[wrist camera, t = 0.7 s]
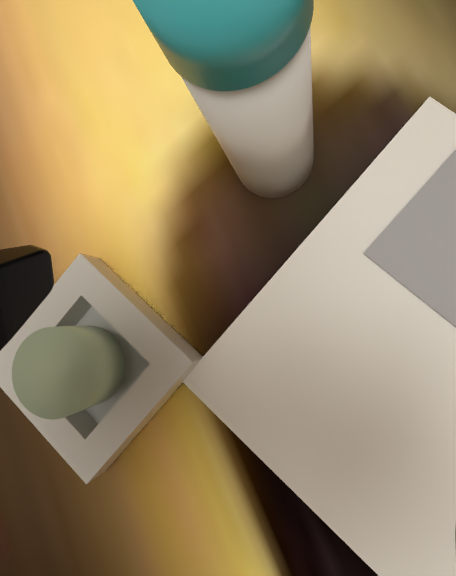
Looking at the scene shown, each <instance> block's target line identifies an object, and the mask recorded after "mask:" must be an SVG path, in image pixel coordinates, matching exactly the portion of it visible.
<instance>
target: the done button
mask: <svg viewBox="0 0 456 576" xmlns="http://www.w3.org/2000/svg"><path fill="white" fill-rule="evenodd" d="M124 372H125V358H124V353H123V351H122V348H121V346H120V344H119V342H118V341H117V339H116V338H115V337H114V336H113V335H112V334H111V333H110V332H108V331H107V330H105V329H103V328H100V327H97V326H59V327H45V328H42V329H39V330H37V331H35V332H33V333H32V334H30V335H29V336H28V337H27V338H26V339H25V340H24V341H23V342H22V343H21V345H20V346H19V348H18V350H17V352H16V354H15V357H14V360H13V365H12V382H13V387H14V390H15V393H16V395H17V397H18V399H19V401H20V402H21V403H22V405H23V406H24V407H25V408H26V409H27V410H28V411H29V412H31V413H32V414H34V415H36V416H38V417H40V418H44V419H51V420H54V419H61V418H64V417H67V416H69V415H72V414H74V413H77V412H80V411H82V410H85V409H87V408H90V407H92V406H95V405H97V404H100V403H102V402H104V401H106V400H108V399H109V398H110V397H112V396H113V395H114V394H115V393H116V391H117V390H118V388H119V387H120V385H121V383H122V380H123V377H124Z"/></svg>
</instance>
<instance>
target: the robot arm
mask: <svg viewBox="0 0 456 576" xmlns="http://www.w3.org/2000/svg"><path fill="white" fill-rule="evenodd" d="M53 285H54V278H53V269H52V261H51V255H50V253H49V252H48V251H47V250H45V249H42V248H39V247H37V246H33V245H26V246H20V247H14V248H8V249H2V250H0V351H1V350H2V349H3V347H4V346H5V345H6V344H7V343H8V342H9V341H10V340H11V339H12V338H13V337H14V335H15V334H16V333H17V332H18V331H19V330H20V328H21V327H22V326H23V325H24V324H25V322H26V321H27V320H28V319H29V317H30V316H31V315H32V314H33V313H34V311H35V310H36V309H37V308H38V307H39V305H40V304H41V303H42V302H43V301H44V299H45V298H46V297H47V296H48V295H49V293H50V292H51V290H52V288H53ZM455 542H456V528H455Z"/></svg>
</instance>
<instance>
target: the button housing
mask: <svg viewBox="0 0 456 576" xmlns="http://www.w3.org/2000/svg"><path fill="white" fill-rule="evenodd" d="M59 326H97V327H100V328H103V329H105V330H107V331H108V332H110V333H111V334H112V335H113V336H114V337H115V338H116V339H117V341H118V342H119V344H120V346H121V348H122V351H123V353H124V358H125V372H124V377H123V380H122V383H121V385H120V387H119V388H118V390H117V391H116V393H115V394H114V395H113V396H112V397H110V398H109V399H108V400H106V401H104V402H102V403H100V404H97V405H95V406H92V407H90V408H87V409H85V410H82V411H80V412H77V413H74V414H72V415H69V416H67V417H64V418H61V419H54V420H51V419H44V418H40V417H38V416H36V415H34V414H32V413H31V412H29V411H28V410H27V409H26V408H25V407H24V406H23V405H22V403H21V402H20V401H19V399H18V397H17V395H16V393H15V390H14V387H13V382H12V365H13V360H14V357H15V354H16V352H17V350H18V348H19V346H20V345H21V343H22V342H23V341H24V340H25V339H26V338H27V337H28V336H29V335H30V334H32V333H33V332H35V331H37V330H39V329H42V328H45V327H59ZM202 357H203V356H201V355H200V354H199V353H198V352H197V351H196V350H195V349H194V348H193V347H192V346H191V345H190V344H189V343H188V342H187V341H186V340H185V339H184V338H183V337H182V336H181V335H180V334H178V333H177V332H176V331H175V330H174V329H173V328H172V327H171V326H170V325H169V324H168V323H167V322H166V321H165V320H164V319H163V318H162V317H161V316H160V315H159V314H158V313H156V312H155V311H154V310H153V309H152V308H151V307H150V306H149V305H148V304H147V303H146V302H145V301H144V300H143V299H142V298H141V297H140V296H139V295H138V294H137V293H136V292H135V291H133V290H132V289H131V288H130V287H129V286H128V285H127V284H126V283H125V282H124V281H123V280H122V279H121V278H120V277H119V276H118V275H117V274H116V273H115V272H114V271H113V270H111V269H110V268H109V267H108V266H107V265H106V264H105V263H104V262H103V261H102V260H101V259H99V258H96V257H92V256H88V255H85V254H81V253H80V254H79V255H78V256H77V258H76V259H75V260H74V261H73V263H72V264H71V265H70V266H69V267H68V269H67V270H66V271H65V272H64V274H63V275H62V276H61V277H60V279H59V280H58V281H57V282H56V283H55V285H54V286H53V288H52V290H51V292H50V293H49V295H48V296H47V297H46V298H45V299H44V301H43V302H42V303H41V304H40V305H39V307H38V308H37V309H36V310H35V311H34V313H33V314H32V315H31V316H30V317H29V319H28V320H27V321H26V322H25V324H24V325H23V326H22V327H21V328H20V330H19V331H18V332H17V333H16V334H15V335H14V337H13V338H12V339H11V340H10V341H9V342H8V343H7V344H6V345H5V346H4V347H3V349H2V350H1V351H0V387H1V388H2V390H3V391H4V392H5V393H6V394H7V395H8V396H9V397H10V399H11V400H12V401H13V402H14V403H15V404H16V405H17V407H18V408H19V409H20V410H21V411H22V412H23V413H24V414H25V416H26V417H27V418H28V419H29V420H30V421H31V422H32V424H33V425H34V426H35V427H36V428H37V429H38V430H39V431H40V433H41V434H42V435H43V436H44V437H45V438H46V439H47V441H48V442H49V443H50V444H51V445H52V446H53V447H54V448H55V450H56V451H57V452H58V453H59V454H60V455H61V456H62V458H63V459H64V460H65V461H66V462H67V463H68V464H69V465H70V467H71V468H72V469H73V470H74V471H75V472H76V473H77V475H78V476H79V477H80V478H81V479H82V480H83V481H84V482H85V484H88V483H89V482H91V481H92V480H93V479H95V478H96V477H98V476H99V475H100V474H102V473H103V472H105V471H106V470H107V469H108V468H109V467H110V466H111V464H112V463H113V462H114V461H115V460H116V459H117V458H118V456H119V455H120V454H121V453H122V452H123V451H124V450H125V448H126V447H127V446H128V445H129V444H130V443H131V442H132V440H133V439H134V438H135V437H136V436H137V435H138V433H139V432H140V431H141V430H142V429H143V428H144V427H145V425H146V424H147V423H148V422H149V421H150V420H151V419H152V417H153V416H154V415H155V414H156V413H157V412H158V411H159V409H160V408H161V407H162V406H163V405H164V404H165V403H166V401H167V400H168V399H169V398H170V397H171V396H172V394H173V393H174V392H175V391H176V390H177V389H178V388H179V386H180V385H181V384H182V383H183V382H182V380H183V379H184V378H185V377H186V376H187V375H188V374H189V372H190V371H191V370H192V369H193V368H194V367H195V366H196V364H197V363H198V362H199V361H200V360H201V359H202Z"/></svg>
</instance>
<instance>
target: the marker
mask: <svg viewBox="0 0 456 576" xmlns="http://www.w3.org/2000/svg"><path fill="white" fill-rule="evenodd" d="M133 2H134V3H135V5H136V7H137V9H138V10H139V12H140V14H141V15H142V17H143V19H144V20H145V22H146V24H147V26H148V27H149V29H150V31H151V32H152V34H153V36H154V38H155V39H156V41H157V43H158V44H159V46H160V48H161V50H162V51H163V53H164V55H165V56H166V58H167V60H168V61H169V63H170V65H171V66H172V67H173V68H174V70H175V71H176V72H177V73H178V74H179V75H180V76H181V77H182V79H183V81H184V82H185V84H186V86H187V88H188V89H189V91H190V93H191V95H192V96H193V98H194V100H195V102H196V103H197V105H198V107H199V109H200V110H201V112H202V114H203V116H204V117H205V119H206V121H207V123H208V124H209V126H210V128H211V130H212V132H213V133H214V135H215V137H216V139H217V140H218V142H219V144H220V146H221V147H222V149H223V151H224V153H225V154H226V156H227V158H228V160H229V161H230V163H231V165H232V167H233V168H234V170H235V172H236V174H237V175H238V177H239V179H240V181H241V182H242V184H243V185H244V186H245V187H246V188H247V189H248V190H249V191H250V192H252V193H253V194H255V195H257V196H260V197H264V198H280V197H284V196H287V195H289V194H291V193H293V192H295V191H296V190H298V189H299V188H300V187H301V186H302V185H303V184H304V183H305V182H306V180H307V179H308V177H309V175H310V173H311V171H312V167H313V162H314V143H313V108H312V72H311V37H310V25H311V21H312V16H313V0H133Z"/></svg>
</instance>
